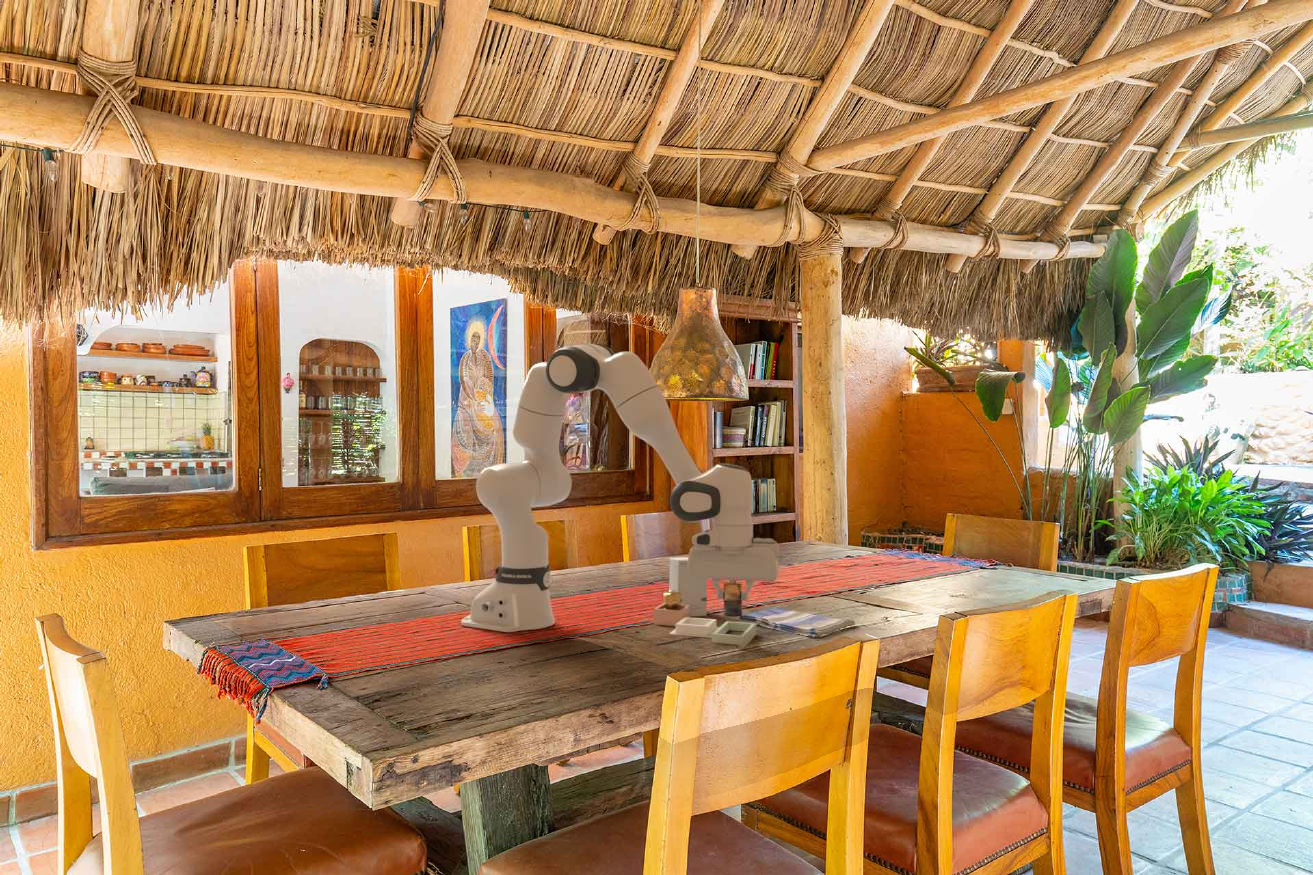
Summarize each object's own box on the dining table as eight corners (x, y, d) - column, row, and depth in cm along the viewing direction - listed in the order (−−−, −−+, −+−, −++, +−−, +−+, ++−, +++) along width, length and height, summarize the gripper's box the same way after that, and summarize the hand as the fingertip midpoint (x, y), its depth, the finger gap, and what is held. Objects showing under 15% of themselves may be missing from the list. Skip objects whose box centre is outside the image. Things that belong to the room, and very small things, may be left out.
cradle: (669, 637, 196) (669, 624, 196) (681, 628, 204) (681, 616, 204) (712, 641, 193) (712, 627, 193) (722, 631, 201) (722, 619, 201)
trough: (712, 645, 189) (712, 633, 189) (726, 632, 201) (726, 621, 201) (743, 648, 186) (743, 636, 186) (756, 634, 199) (756, 623, 199)
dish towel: (816, 641, 195) (816, 629, 195) (736, 624, 212) (736, 613, 212) (858, 629, 207) (858, 617, 207) (779, 613, 224) (779, 602, 224)
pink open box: (653, 627, 206) (653, 609, 206) (662, 621, 212) (662, 603, 212) (681, 629, 203) (681, 611, 203) (690, 623, 210) (690, 605, 210)
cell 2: (722, 615, 190) (721, 581, 190) (726, 612, 194) (726, 578, 194) (739, 617, 189) (739, 582, 189) (743, 613, 193) (743, 579, 193)
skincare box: (677, 621, 213) (677, 560, 212) (667, 616, 218) (667, 557, 218) (708, 618, 216) (708, 558, 216) (697, 613, 221) (697, 555, 221)
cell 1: (661, 623, 207) (661, 591, 207) (667, 619, 210) (667, 588, 210) (676, 624, 205) (676, 592, 205) (683, 620, 209) (682, 589, 209)
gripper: (782, 537, 191) (782, 599, 191) (693, 533, 198) (693, 594, 198) (776, 540, 185) (777, 605, 185) (685, 537, 192) (685, 599, 192)
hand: (733, 599), depth 191 cm, fingers closed on cell 2, 4 cm apart
